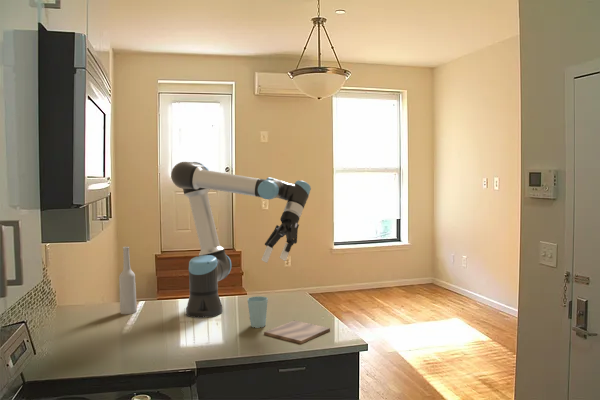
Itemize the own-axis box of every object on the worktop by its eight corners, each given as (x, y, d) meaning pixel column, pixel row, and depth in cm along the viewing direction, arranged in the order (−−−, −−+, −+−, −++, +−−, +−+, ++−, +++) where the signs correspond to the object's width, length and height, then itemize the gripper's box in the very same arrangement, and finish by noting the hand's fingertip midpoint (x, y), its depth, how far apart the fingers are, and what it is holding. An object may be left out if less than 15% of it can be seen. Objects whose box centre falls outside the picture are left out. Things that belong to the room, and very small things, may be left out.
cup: (263, 321, 193) (262, 295, 193) (271, 326, 187) (271, 299, 186) (245, 324, 189) (244, 298, 189) (253, 330, 183) (252, 302, 182)
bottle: (137, 313, 209) (134, 247, 207) (120, 315, 206) (118, 248, 205) (136, 309, 215) (133, 245, 214) (119, 311, 212) (117, 246, 211)
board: (264, 334, 177) (264, 331, 177) (293, 322, 191) (293, 320, 190) (301, 343, 167) (301, 340, 167) (330, 330, 180) (329, 328, 180)
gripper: (316, 215, 198) (298, 262, 189) (281, 222, 218) (264, 266, 209) (302, 205, 195) (283, 253, 186) (268, 214, 214) (250, 257, 206)
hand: (273, 260), depth 197 cm, fingers open, 13 cm apart
